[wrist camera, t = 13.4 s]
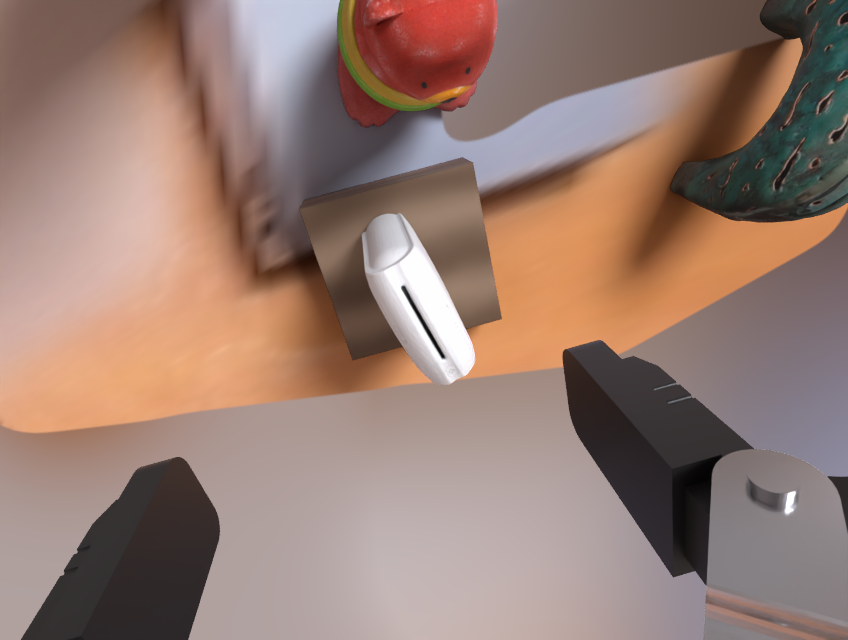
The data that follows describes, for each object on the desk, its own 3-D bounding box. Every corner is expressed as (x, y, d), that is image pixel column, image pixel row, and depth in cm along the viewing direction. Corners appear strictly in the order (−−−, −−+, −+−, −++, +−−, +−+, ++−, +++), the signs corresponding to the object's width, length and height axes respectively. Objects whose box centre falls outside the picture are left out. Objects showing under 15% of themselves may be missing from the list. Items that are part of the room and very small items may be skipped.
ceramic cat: (780, -51, 38) (1172, -193, 20) (837, -14, 39) (1247, -113, 21) (649, 191, 44) (852, 251, 26) (703, 214, 46) (928, 285, 28)
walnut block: (304, 200, 41) (299, 209, 37) (462, 157, 41) (472, 162, 37) (352, 340, 47) (352, 360, 43) (490, 302, 47) (501, 319, 43)
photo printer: (456, 305, 42) (492, 378, 31) (413, 328, 42) (434, 408, 31) (401, 202, 38) (421, 243, 27) (354, 228, 38) (354, 279, 27)
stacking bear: (350, 132, 39) (347, 152, 23) (315, -15, 35) (282, -118, 19) (478, 105, 39) (564, 106, 23) (460, -43, 35) (550, -167, 19)
